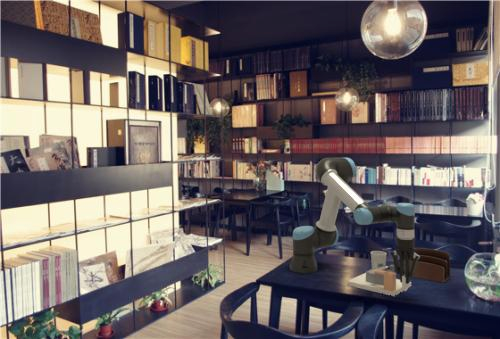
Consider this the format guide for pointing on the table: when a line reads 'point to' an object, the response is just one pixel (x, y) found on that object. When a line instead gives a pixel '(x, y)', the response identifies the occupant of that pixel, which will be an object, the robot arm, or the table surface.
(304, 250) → the robot arm
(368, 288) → the board
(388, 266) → the translucent flat bar
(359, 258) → the table surface
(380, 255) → the cup
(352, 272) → the table surface
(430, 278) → the letter holder
